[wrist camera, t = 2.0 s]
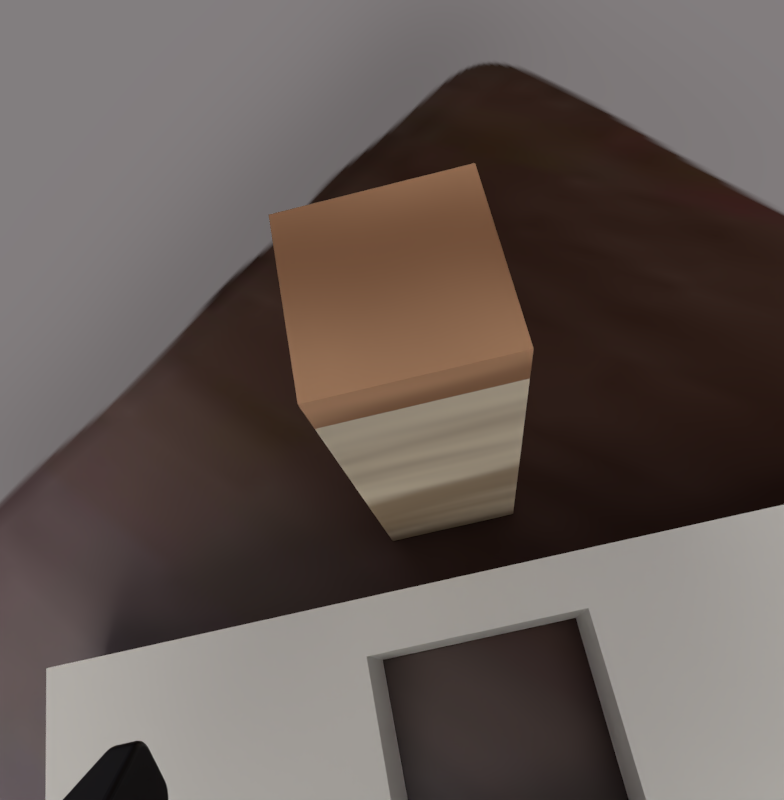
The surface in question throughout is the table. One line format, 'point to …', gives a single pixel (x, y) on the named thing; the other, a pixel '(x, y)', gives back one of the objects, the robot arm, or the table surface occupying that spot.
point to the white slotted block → (447, 625)
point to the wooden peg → (409, 347)
